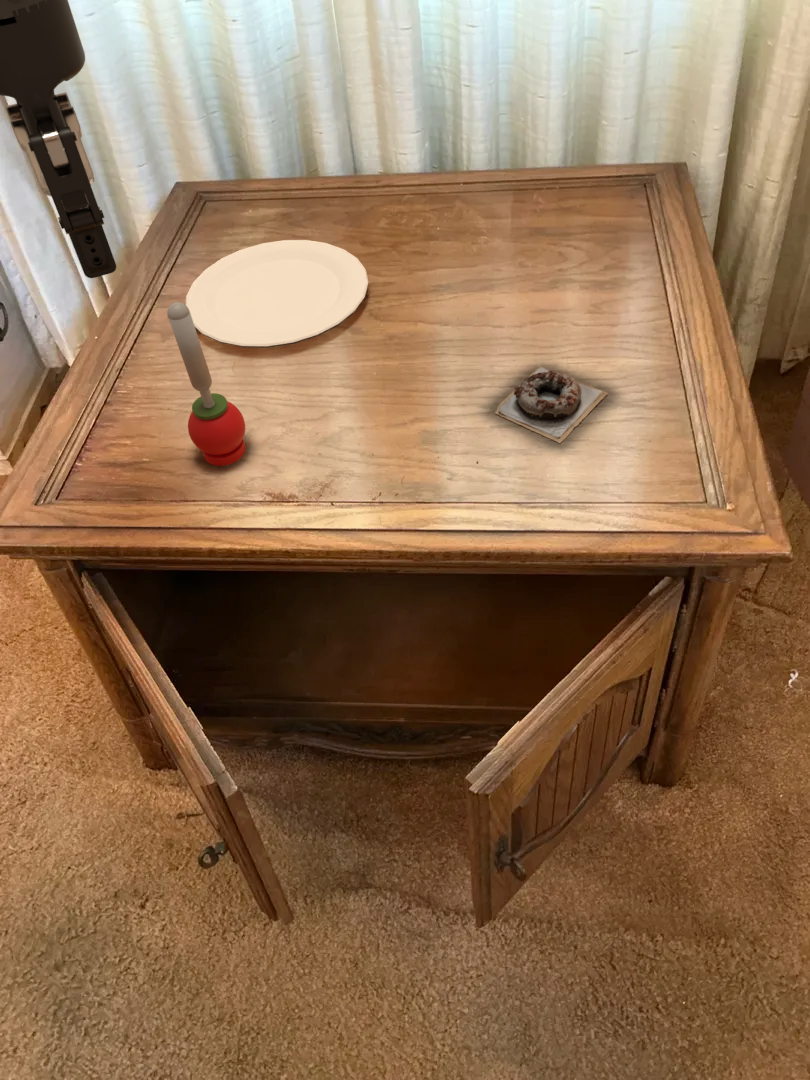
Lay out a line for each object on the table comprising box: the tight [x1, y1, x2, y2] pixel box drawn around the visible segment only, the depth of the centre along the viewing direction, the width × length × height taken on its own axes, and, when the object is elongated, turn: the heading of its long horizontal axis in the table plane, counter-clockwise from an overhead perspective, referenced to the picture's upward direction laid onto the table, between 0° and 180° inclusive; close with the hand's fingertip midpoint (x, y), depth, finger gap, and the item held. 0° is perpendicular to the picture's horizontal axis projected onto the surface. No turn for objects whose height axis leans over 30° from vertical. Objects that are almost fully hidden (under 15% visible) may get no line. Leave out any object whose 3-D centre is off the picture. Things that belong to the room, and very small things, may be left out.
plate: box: [185, 239, 369, 349], centre depth 96 cm, size 21×21×2 cm
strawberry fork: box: [166, 301, 246, 467], centre depth 75 cm, size 5×5×16 cm
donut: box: [495, 366, 609, 444], centre depth 81 cm, size 8×8×2 cm
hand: (90, 244), depth 61 cm, fingers open, 8 cm apart
